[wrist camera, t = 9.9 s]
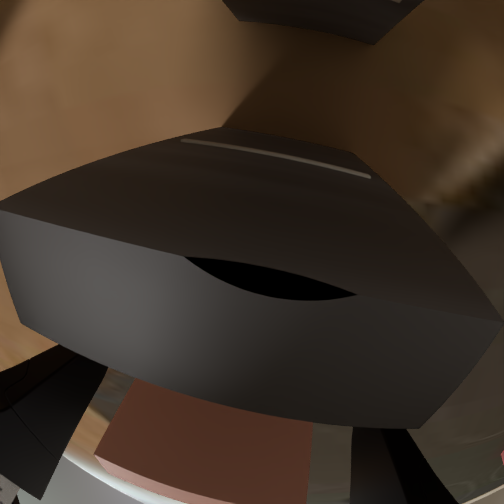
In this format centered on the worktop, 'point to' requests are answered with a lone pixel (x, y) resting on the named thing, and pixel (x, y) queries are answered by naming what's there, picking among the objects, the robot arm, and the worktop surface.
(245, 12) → the domino
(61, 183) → the domino
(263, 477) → the domino
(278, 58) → the worktop surface
